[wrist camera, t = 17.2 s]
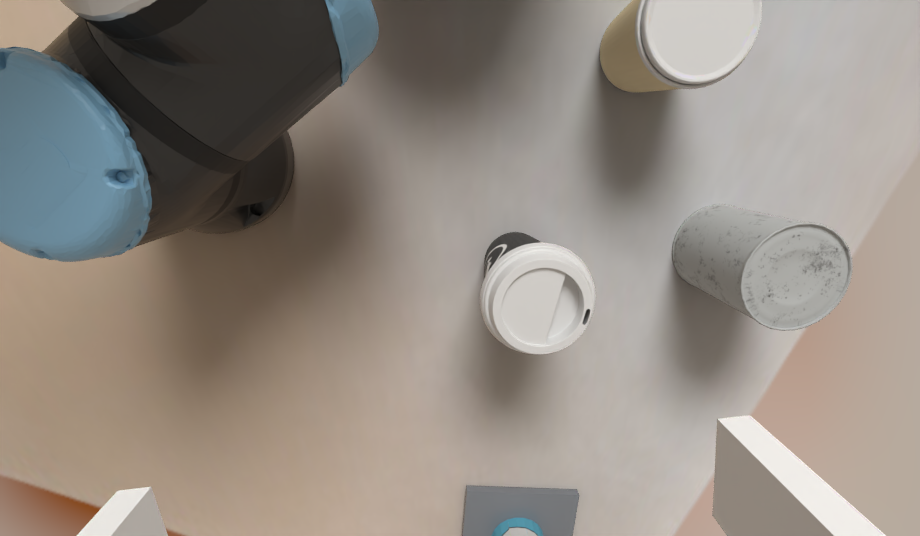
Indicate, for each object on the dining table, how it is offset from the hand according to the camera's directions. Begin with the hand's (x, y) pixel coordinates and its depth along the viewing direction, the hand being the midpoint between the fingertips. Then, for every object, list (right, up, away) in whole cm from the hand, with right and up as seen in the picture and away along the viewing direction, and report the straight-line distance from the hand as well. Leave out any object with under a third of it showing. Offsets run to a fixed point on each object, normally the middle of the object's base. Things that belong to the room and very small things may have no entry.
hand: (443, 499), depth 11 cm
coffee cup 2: (+18, +27, +35) cm, 48 cm away
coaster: (+8, -29, +49) cm, 58 cm away
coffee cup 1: (+6, +6, +40) cm, 41 cm away
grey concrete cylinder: (+28, +8, +41) cm, 50 cm away
